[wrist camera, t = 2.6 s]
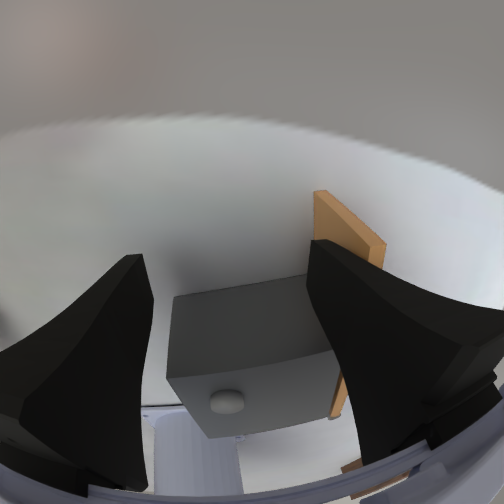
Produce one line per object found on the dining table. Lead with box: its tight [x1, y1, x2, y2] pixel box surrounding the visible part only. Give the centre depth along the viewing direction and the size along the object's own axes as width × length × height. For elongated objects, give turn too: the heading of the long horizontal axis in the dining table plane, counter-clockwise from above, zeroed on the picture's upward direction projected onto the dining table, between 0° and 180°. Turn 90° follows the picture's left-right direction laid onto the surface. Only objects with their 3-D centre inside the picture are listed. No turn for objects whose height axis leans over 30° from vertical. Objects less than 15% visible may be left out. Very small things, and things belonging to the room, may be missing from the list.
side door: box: [314, 190, 386, 420], centre depth 13 cm, size 12×1×5 cm, turn 6°
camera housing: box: [166, 274, 340, 439], centre depth 14 cm, size 8×7×6 cm
